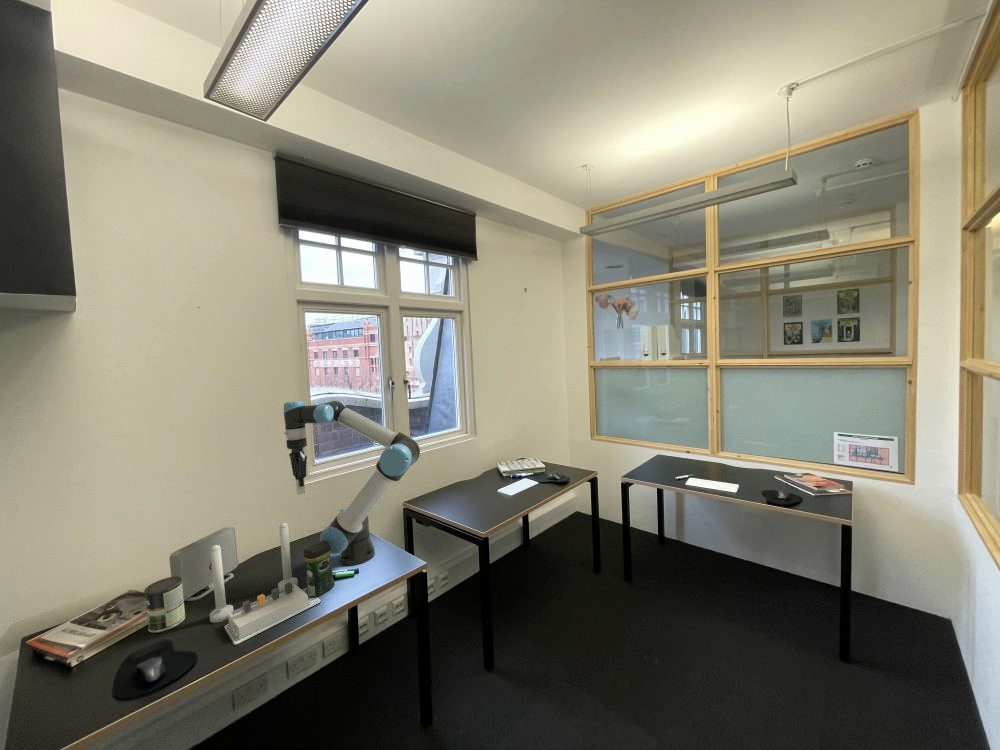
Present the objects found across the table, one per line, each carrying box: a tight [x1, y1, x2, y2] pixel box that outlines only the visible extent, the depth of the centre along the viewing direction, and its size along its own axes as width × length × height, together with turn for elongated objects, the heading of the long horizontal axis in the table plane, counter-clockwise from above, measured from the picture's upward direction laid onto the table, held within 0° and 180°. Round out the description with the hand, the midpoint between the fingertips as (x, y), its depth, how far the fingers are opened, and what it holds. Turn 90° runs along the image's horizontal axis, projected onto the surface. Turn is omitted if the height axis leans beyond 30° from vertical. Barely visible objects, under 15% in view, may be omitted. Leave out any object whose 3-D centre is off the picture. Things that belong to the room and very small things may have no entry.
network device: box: [168, 526, 239, 602], centre depth 164 cm, size 26×9×20 cm, turn 168°
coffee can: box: [143, 576, 186, 634], centre depth 141 cm, size 10×10×14 cm
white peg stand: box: [209, 545, 235, 624], centre depth 143 cm, size 7×7×26 cm
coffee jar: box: [303, 540, 335, 597], centre depth 156 cm, size 10×8×19 cm
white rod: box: [277, 522, 299, 591], centre depth 160 cm, size 7×7×26 cm
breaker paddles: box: [241, 582, 294, 615], centre depth 142 cm, size 17×2×4 cm, turn 138°
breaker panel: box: [228, 584, 309, 640], centre depth 142 cm, size 22×12×4 cm, turn 138°
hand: (301, 493), depth 169 cm, fingers closed
